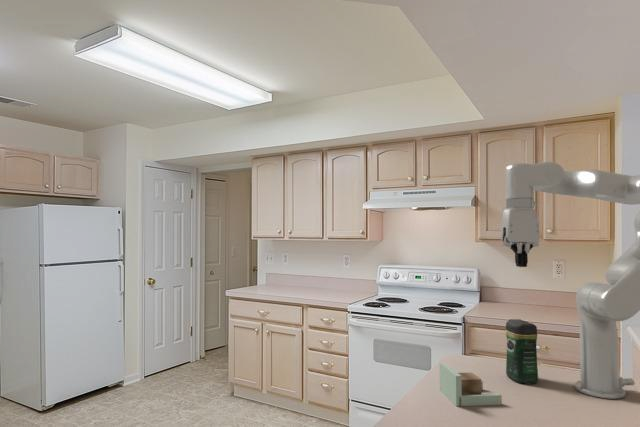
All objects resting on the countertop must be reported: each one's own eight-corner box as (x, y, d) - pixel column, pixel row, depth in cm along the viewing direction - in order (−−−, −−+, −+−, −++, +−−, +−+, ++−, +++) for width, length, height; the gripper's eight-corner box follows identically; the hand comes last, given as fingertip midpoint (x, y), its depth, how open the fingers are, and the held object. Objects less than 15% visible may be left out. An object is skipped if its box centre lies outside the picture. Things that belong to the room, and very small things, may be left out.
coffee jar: (542, 384, 136) (541, 323, 137) (518, 385, 135) (517, 323, 136) (525, 374, 146) (524, 317, 146) (502, 374, 145) (501, 317, 146)
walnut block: (472, 393, 128) (471, 372, 129) (481, 401, 123) (481, 379, 123) (452, 394, 128) (451, 372, 128) (460, 401, 122) (460, 379, 122)
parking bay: (481, 388, 132) (481, 361, 132) (501, 404, 120) (501, 374, 120) (439, 390, 131) (439, 362, 131) (456, 406, 119) (456, 375, 119)
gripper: (535, 205, 137) (537, 265, 137) (489, 205, 136) (491, 266, 135) (551, 204, 130) (552, 267, 129) (502, 204, 128) (504, 268, 128)
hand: (521, 266), depth 132 cm, fingers closed
